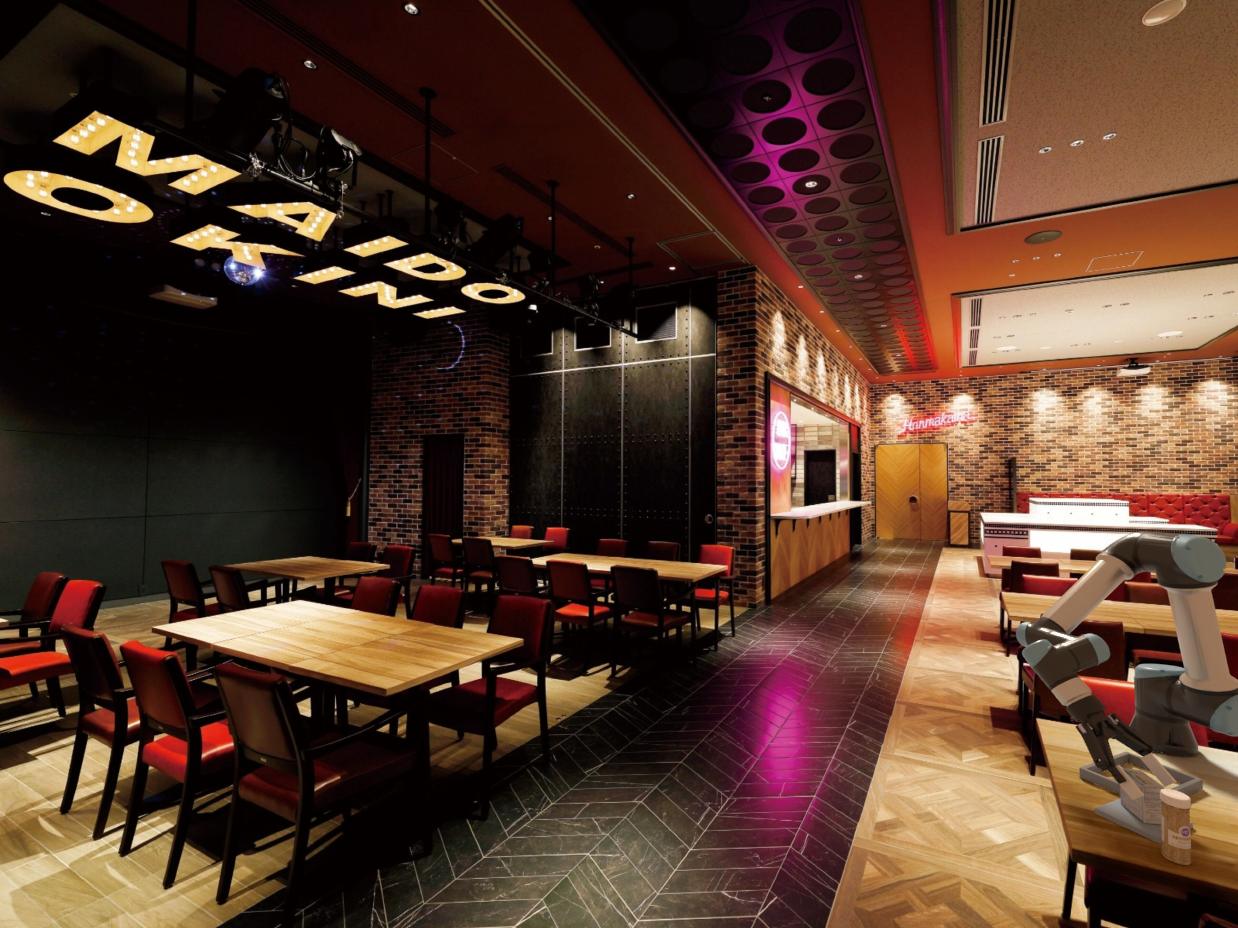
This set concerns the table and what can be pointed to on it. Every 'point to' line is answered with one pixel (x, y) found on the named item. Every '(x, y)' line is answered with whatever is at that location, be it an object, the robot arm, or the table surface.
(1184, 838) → the sprinkles bottle
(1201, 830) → the table surface
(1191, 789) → the grey rectangular frame
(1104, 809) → the board
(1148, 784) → the medicine box
